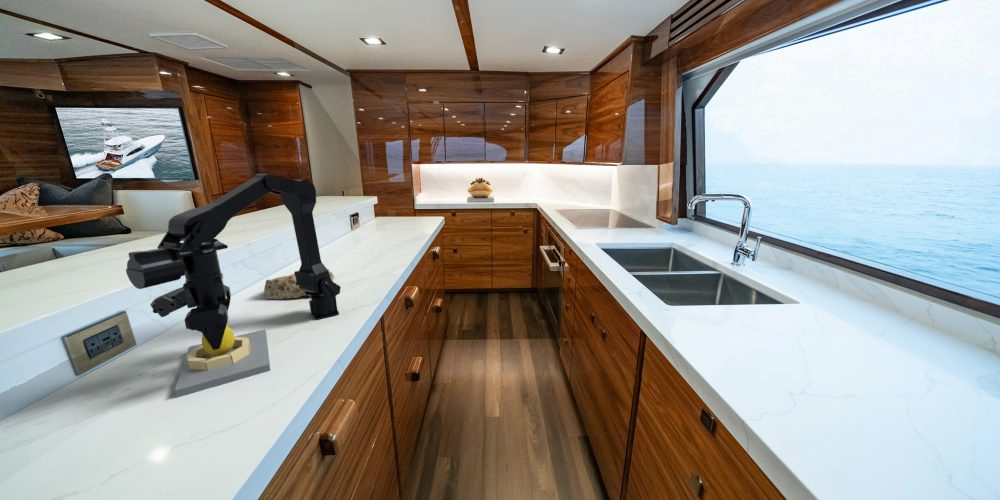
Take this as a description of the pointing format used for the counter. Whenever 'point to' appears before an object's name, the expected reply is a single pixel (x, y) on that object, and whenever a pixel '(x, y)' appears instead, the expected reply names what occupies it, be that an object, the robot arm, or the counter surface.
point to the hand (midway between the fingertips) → (218, 340)
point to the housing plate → (223, 364)
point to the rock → (284, 287)
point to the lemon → (225, 345)
